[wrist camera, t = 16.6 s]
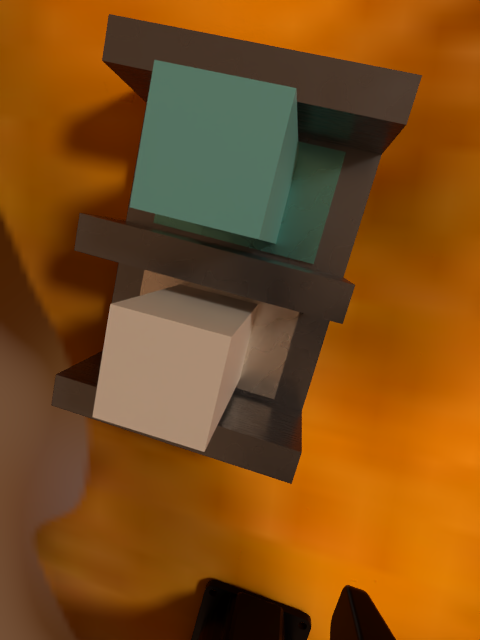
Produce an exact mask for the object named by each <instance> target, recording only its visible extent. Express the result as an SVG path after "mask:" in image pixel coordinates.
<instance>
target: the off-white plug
mask: <svg viewBox="0 0 480 640" xmlns="http://www.w3.org/2000/svg"><path fill="white" fill-rule="evenodd" d="M257 307H258V304H254V303H250V302H246V301H243V300H239V299H235V298H231V297H227V296H223V295H220V294H216V293H212V292H208V291H204V290H200V289H196V288H193V287H189V286H185V285H181V284H180V285H177V286H173V287H169V288H166V289H162V290H159V291H155V292H151V293H148V294H144V295H141V296H137V297H134V298H130V299H126V300H123V301H119V302H116V303H112V304H110V309H109V316H108V322H107V328H106V335H105V341H104V347H103V353H102V360H101V366H100V372H99V378H98V385H97V391H96V397H95V404H94V410H93V416H92V417H94V418H97V419H100V420H103V421H106V422H110V423H113V424H116V425H119V426H123V427H126V428H129V429H132V430H135V431H139V432H142V433H145V434H148V435H151V436H155V437H158V438H161V439H164V440H168V441H171V442H174V443H177V444H180V445H184V446H187V447H190V448H193V449H196V450H200V451H203V452H205V450H206V448H207V446H208V443H209V441H210V439H211V437H212V435H213V433H214V431H215V429H216V427H217V425H218V423H219V421H220V419H221V417H222V415H223V413H224V411H225V408H226V406H227V404H228V402H229V400H230V398H231V396H232V394H233V392H234V390H235V388H236V386H237V384H238V382H239V379H240V375H241V371H242V367H243V363H244V359H245V355H246V351H247V347H248V343H249V339H250V335H251V331H252V327H253V323H254V319H255V315H256V311H257Z"/></svg>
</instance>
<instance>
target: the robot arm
mask: <svg viewBox="0 0 480 640" xmlns="http://www.w3.org/2000/svg"><path fill="white" fill-rule="evenodd" d="M212 589H214V590H216V591H214V590H212ZM301 622H304V623H301ZM310 630H311V618H310V616H309V615H308V614H306V613H304V612H301V611H299V610H296V609H293V608H290V607H288V606H285V605H282V604H279V603H277V602H274V601H271V600H268V599H266V598H263V597H260V596H257V595H255V594H252V593H249V592H246V591H244V590H241V589H238V588H236V587H233V586H230V585H227V584H225V583H222V582H219V581H216V580H210V581H209V582H208V583H207V585H206V589H205V592H204V596H203V599H202V603H201V607H200V610H199V614H198V617H197V621H196V624H195V628H194V632H193V635H192V639H191V640H307V638H308V635H309V632H310ZM330 640H396V639H395V637H394V636H393V634H392V632H391V631H390V629H389V628H388V626H387V624H386V623H385V621H384V619H383V618H382V616H381V615H380V613H379V611H378V610H377V608H376V606H375V605H374V603H373V602H372V600H371V598H370V597H369V595H368V594H367V593H366V592H365V591H364V590H361V589H358V588H355V587H352V586H350V585H346V586H345V587H344V588H343V590H342V592H341V595H340V597H339V600H338V603H337V605H336V608H335V610H334V613H333V616H332V620H331V628H330Z"/></svg>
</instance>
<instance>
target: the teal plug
mask: <svg viewBox="0 0 480 640" xmlns="http://www.w3.org/2000/svg"><path fill="white" fill-rule="evenodd" d="M298 156H299V147H298V119H297V91H296V88H293V87H288V86H283V85H278V84H273V83H268V82H263V81H258V80H253V79H248V78H243V77H238V76H233V75H228V74H223V73H218V72H213V71H208V70H203V69H198V68H193V67H188V66H183V65H178V64H173V63H168V62H163V61H158V60H154V65H153V71H152V77H151V83H150V89H149V95H148V101H147V107H146V112H145V118H144V124H143V130H142V136H141V142H140V148H139V154H138V160H137V166H136V171H135V177H134V183H133V189H132V195H131V201H130V208H134V209H138V210H142V211H146V212H150V213H154V214H158V215H162V216H166V217H170V218H174V219H178V220H182V221H186V222H190V223H194V224H198V225H202V226H206V227H210V228H214V229H218V230H222V231H226V232H231V233H235V234H239V235H243V236H247V237H251V238H255V239H259V240H263V241H267V242H271V243H275V244H276V241H277V237H278V233H279V229H280V225H281V221H282V217H283V214H284V210H285V206H286V202H287V198H288V194H289V190H290V187H291V183H292V179H293V175H294V171H295V167H296V163H297V160H298Z"/></svg>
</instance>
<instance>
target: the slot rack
mask: <svg viewBox="0 0 480 640" xmlns="http://www.w3.org/2000/svg"><path fill="white" fill-rule="evenodd" d="M154 60H158V61H163V62H168V63H173V64H178V65H183V66H188V67H193V68H198V69H203V70H208V71H213V72H218V73H223V74H228V75H233V76H238V77H243V78H248V79H253V80H258V81H263V82H268V83H273V84H278V85H283V86H288V87H293V88H296V91H297V119H298V147H299V156H298V160H297V163H296V167H295V171H294V175H293V179H292V183H291V187H290V190H289V194H288V198H287V202H286V206H285V210H284V214H283V217H282V221H281V225H280V229H279V233H278V237H277V241H276V244H275V243H271V242H267V241H263V240H259V239H255V238H251V237H247V236H243V235H239V234H235V233H231V232H226V231H222V230H218V229H214V228H210V227H206V226H202V225H198V224H194V223H190V222H186V221H182V220H178V219H174V218H170V217H166V216H162V215H158V214H154V213H150V212H146V211H142V210H138V209H134V208H130V201H131V196H130V201H129V207H128V213H127V219H126V221H124V220H119V219H113V218H107V217H101V216H95V215H89V214H83V213H80V215H79V221H78V228H77V235H76V242H75V249H74V250H75V251H79V252H82V253H86V254H89V255H93V256H97V257H100V258H104V259H108V260H111V261H115V262H119V264H118V270H117V276H116V282H115V287H114V293H113V299H112V303H116V302H119V301H123V300H126V299H130V298H134V297H137V296H141V295H144V294H148V293H151V292H155V291H159V290H162V289H166V288H169V287H173V286H177V285H180V284H181V285H185V286H189V287H193V288H196V289H200V290H204V291H208V292H212V293H216V294H220V295H223V296H227V297H231V298H235V299H239V300H243V301H246V302H250V303H254V304H258V307H257V311H256V315H255V319H254V323H253V327H252V331H251V335H250V339H249V343H248V347H247V351H246V355H245V359H244V363H243V367H242V371H241V375H240V379H239V382H238V384H237V386H236V388H235V390H234V392H233V394H232V396H231V398H230V400H229V402H228V404H227V406H226V408H225V411H224V413H223V415H222V417H221V419H220V421H219V423H218V425H217V427H216V429H215V431H214V433H213V435H212V437H211V439H210V441H209V443H208V446H207V448H206V450H205V452H203V451H200V450H196V449H193V448H190V447H187V446H184V445H180V444H177V443H174V442H171V441H168V440H164V439H161V438H158V437H155V436H151V435H148V434H145V433H142V432H139V431H135V430H132V429H129V428H126V427H123V426H119V425H116V424H113V423H110V422H106V421H103V420H100V419H97V418H94V417H92V416H93V410H94V404H95V397H96V391H97V385H98V378H99V372H100V366H101V360H102V353H103V351H102V352H100V353H98V354H96V355H94V356H92V357H90V358H88V359H86V360H84V361H82V362H80V363H78V364H76V365H74V366H72V367H70V368H68V369H66V370H64V371H62V372H60V373H58V374H56V378H55V385H54V391H53V398H52V406H55V407H59V408H61V409H64V410H68V411H71V412H73V413H76V414H80V415H83V416H86V417H89V418H92V419H95V420H98V421H101V422H104V423H107V424H110V425H113V426H116V427H119V428H122V429H125V430H128V431H131V432H135V433H138V434H141V435H144V436H147V437H150V438H153V439H156V440H159V441H162V442H165V443H168V444H171V445H174V446H177V447H180V448H183V449H187V450H190V451H193V452H196V453H199V454H202V455H205V456H208V457H211V458H214V459H217V460H220V461H223V462H226V463H229V464H232V465H235V466H238V467H242V468H245V469H248V470H251V471H254V472H257V473H260V474H263V475H266V476H269V477H272V478H275V479H278V480H281V481H284V482H287V483H290V484H292V480H293V477H294V474H295V471H296V468H297V465H298V462H299V459H300V455H301V452H302V408H303V405H304V402H305V399H306V395H307V392H308V389H309V386H310V382H311V379H312V376H313V373H314V370H315V366H316V363H317V360H318V357H319V354H320V350H321V347H322V344H323V341H324V337H325V334H326V331H327V328H328V325H329V321H334V322H337V323H341V324H343V321H344V318H345V315H346V312H347V308H348V305H349V302H350V299H351V296H352V293H353V290H354V287H355V285H354V284H353V283H351V282H350V281H348V280H347V279H345V278H343V276H344V273H345V270H346V267H347V264H348V260H349V257H350V254H351V251H352V247H353V244H354V241H355V238H356V235H357V231H358V228H359V225H360V222H361V219H362V215H363V212H364V209H365V206H366V202H367V199H368V196H369V193H370V190H371V186H372V183H373V180H374V177H375V174H376V170H377V167H378V164H379V161H380V157H381V155H382V153H383V152H384V151H385V150H386V149H387V147H388V146H389V145H390V144H391V143H392V141H393V140H394V139H395V138H396V136H397V135H398V134H399V133H400V132H401V130H402V129H403V128H404V127H405V126H406V124H407V121H408V118H409V114H410V111H411V108H412V105H413V102H414V99H415V96H416V93H417V89H418V86H419V83H420V80H421V77H422V75H417V74H412V73H407V72H402V71H397V70H392V69H387V68H381V67H376V66H371V65H366V64H361V63H356V62H351V61H346V60H341V59H335V58H330V57H325V56H320V55H315V54H310V53H305V52H300V51H295V50H289V49H284V48H279V47H274V46H269V45H264V44H259V43H254V42H249V41H243V40H238V39H233V38H228V37H223V36H218V35H213V34H208V33H203V32H197V31H192V30H187V29H182V28H177V27H172V26H167V25H162V24H157V23H152V22H146V21H141V20H136V19H131V18H126V17H121V16H116V15H111V14H109V18H108V24H107V31H106V38H105V45H104V51H103V58H102V61H103V62H104V63H105V64H106V65H107V66H108V67H110V68H111V69H112V70H113V71H114V72H115V73H116V74H117V75H118V76H119V77H120V78H121V79H122V80H123V81H124V82H125V83H126V84H127V85H128V86H130V87H131V88H132V89H133V90H134V91H135V92H136V93H137V94H138V95H139V96H140V97H141V98H142V99H143V100H144V101H145V102H146V103H147V101H148V95H149V89H150V83H151V77H152V71H153V65H154ZM146 107H147V104H146ZM145 112H146V110H145ZM144 118H145V116H144ZM143 124H144V121H143ZM142 130H143V127H142ZM141 136H142V133H141ZM140 142H141V138H140ZM139 148H140V144H139ZM138 154H139V150H138ZM137 160H138V156H137ZM136 166H137V161H136ZM135 171H136V167H135ZM134 177H135V173H134ZM133 183H134V179H133ZM132 189H133V184H132ZM131 195H132V190H131Z"/></svg>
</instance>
